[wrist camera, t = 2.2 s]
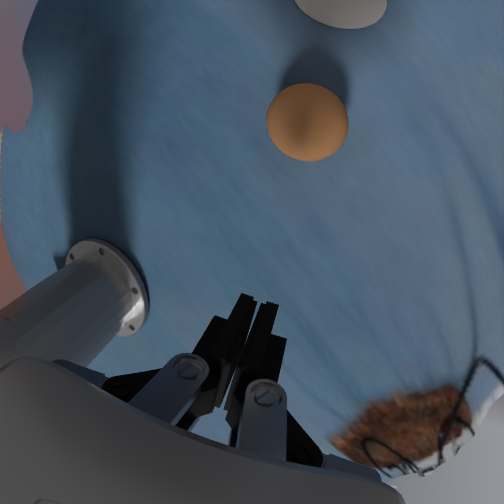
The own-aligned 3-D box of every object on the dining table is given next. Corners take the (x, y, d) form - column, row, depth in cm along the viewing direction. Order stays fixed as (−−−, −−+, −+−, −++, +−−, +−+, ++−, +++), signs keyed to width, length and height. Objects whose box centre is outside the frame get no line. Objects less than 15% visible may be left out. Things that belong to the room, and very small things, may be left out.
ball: (280, 164, 21) (269, 170, 17) (266, 97, 20) (251, 84, 15) (349, 154, 20) (361, 158, 15) (335, 86, 18) (342, 69, 13)
